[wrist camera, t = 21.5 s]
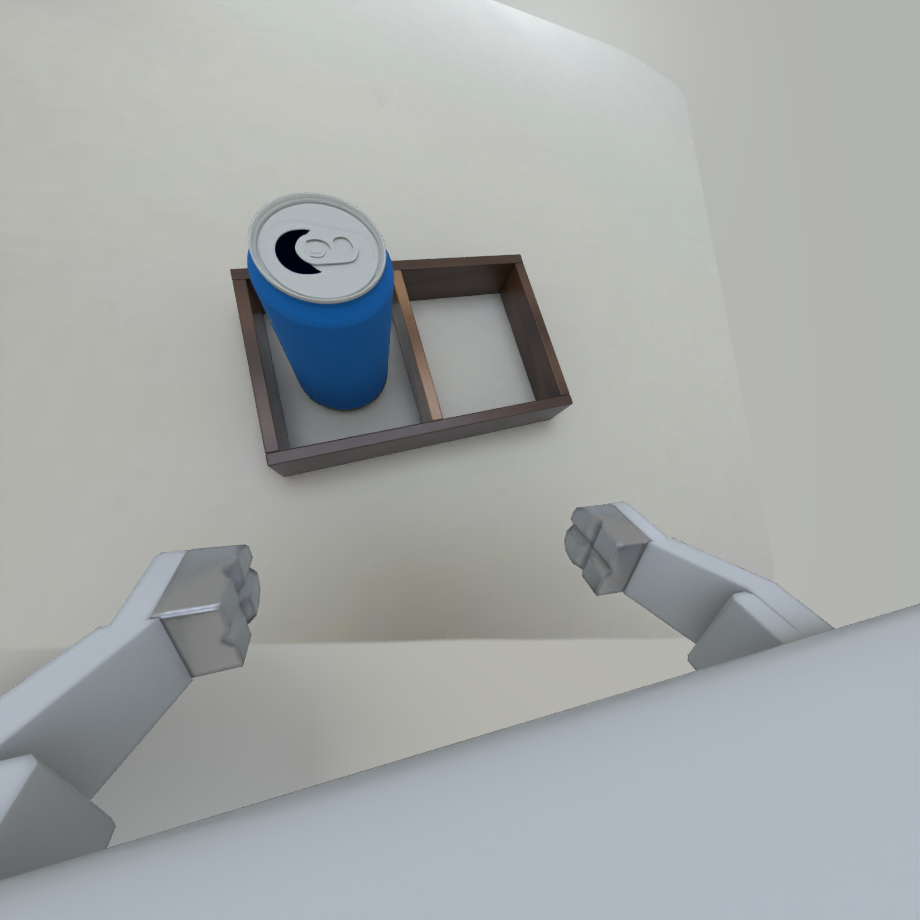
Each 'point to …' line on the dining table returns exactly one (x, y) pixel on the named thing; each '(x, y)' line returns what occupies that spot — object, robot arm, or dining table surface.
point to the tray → (413, 363)
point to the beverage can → (325, 294)
